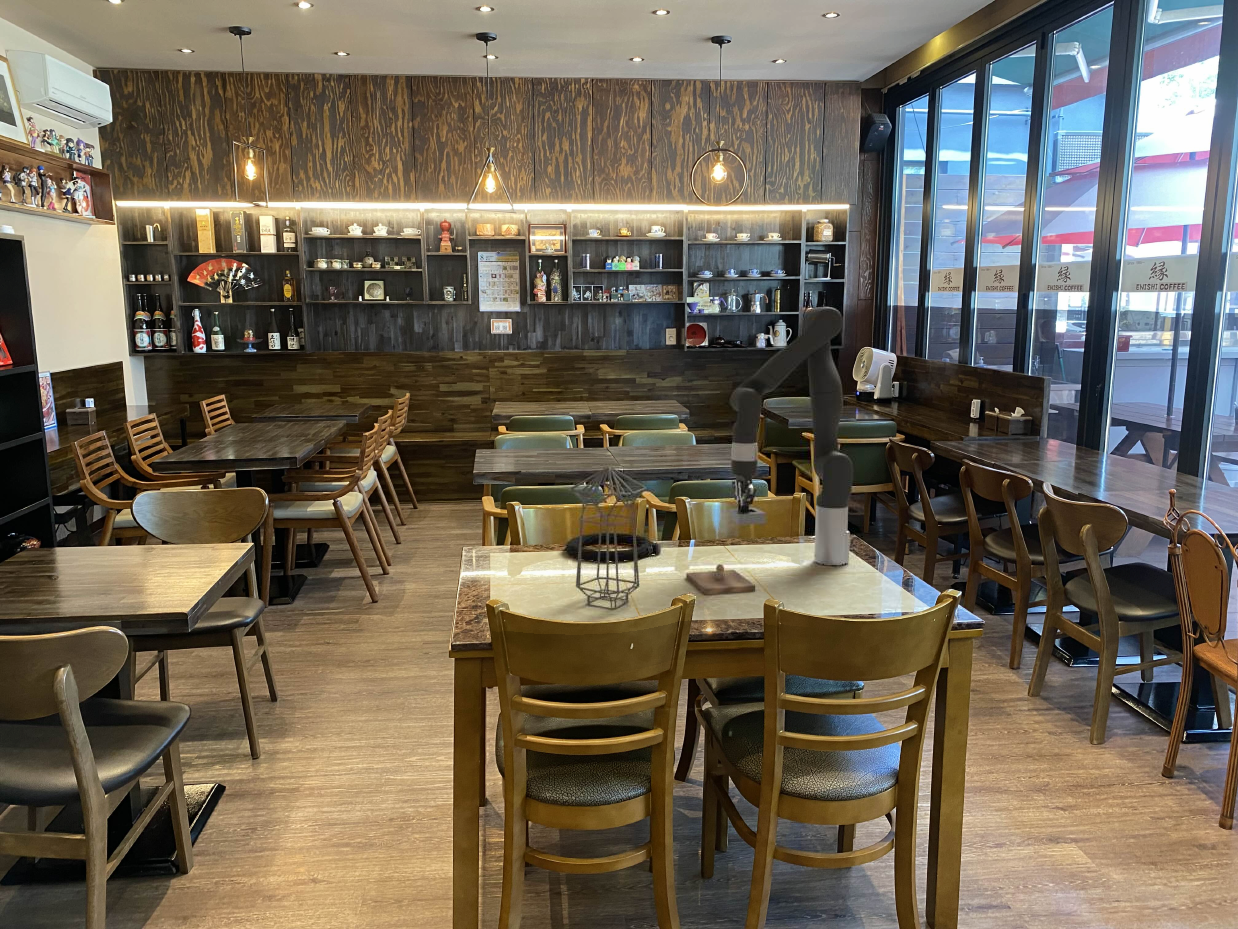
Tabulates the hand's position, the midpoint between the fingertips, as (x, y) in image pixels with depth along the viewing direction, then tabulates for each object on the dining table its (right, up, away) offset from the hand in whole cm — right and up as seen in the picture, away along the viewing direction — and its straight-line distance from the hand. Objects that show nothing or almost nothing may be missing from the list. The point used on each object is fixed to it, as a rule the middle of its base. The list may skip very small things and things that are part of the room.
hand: (743, 517), depth 257 cm
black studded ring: (-38, -13, +21) cm, 45 cm away
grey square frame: (+1, -1, -3) cm, 3 cm away
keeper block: (-8, -18, -15) cm, 24 cm away
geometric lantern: (-38, -20, -30) cm, 53 cm away
